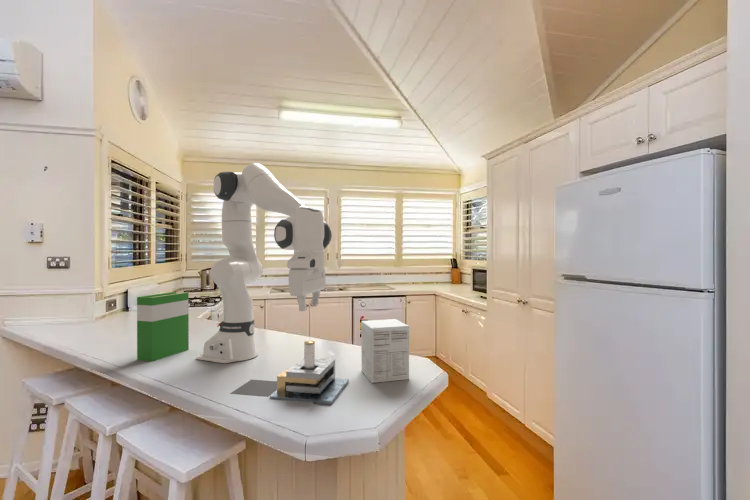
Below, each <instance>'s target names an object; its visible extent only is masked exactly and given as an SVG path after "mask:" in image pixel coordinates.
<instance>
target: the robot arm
mask: <svg viewBox="0 0 750 500" xmlns="http://www.w3.org/2000/svg"><path fill="white" fill-rule="evenodd" d="M212 187H213V192H214V193H213V194H214V195H215V197H217V199H219V200H222V208H221V240H222V243H223V245H224V246H225V247H226V248H227V251H228V255H229V257H225V258H222V259H219V260H217V261H216V262H214V263H213V265H211V268H210V277H211V280H212V282H213V283H214V284H215V285H216V286H217V287H218V290H219V292H220V295H221V300H222V309H223V310H222V314H223V315H222V316H223V318H222V321H221V322H219V323H216V325H217V326H216V327H217V328H218V327H219V328H218V331H217V332H215V333H214V334H213V335H212V336H211V337H209V338H207V340H206V341H205V342H204V346H203V350H202V352H201V353H199V354H197V355H196V360H200V361H206V362H207V361H208V362H214V363H221V364H229V363H233V362H241V361H246V360H250V359H253V358H257V356H258V354H259V353H258V352H257V348H256V342H255V336H254V334H255V319H254V300H253V298H252V297H251V296H250V294H249V292H248V288H247V284H248V285H249V284H252V283H254V282H256V281H258V280H260V278H261V277H262V275H263V273H264V267H263V265H262V263H261V261H260V260H259V259H258V256H257V253H256V249H255V246H254V241H253V228H252V226H253V225H252V211H251V210H252V206H253V205H255V206H257V207H258V208H259V209H261V210H264V211H268V212H273V213H278V214H282V215H286V216H288V217H287V218H285V219H281V220H280V221H279V222H277V224H276V225H275V227H274V232H273V235H274V237H273V238H274V241H275V243H276V244H277V246H278V247H279V248H280V249H283V250H286V251H287V250H288V251H293V255H292V256H291V258H289V260H287V262H286V265H287V266H286V267H287V269H289V271H288V291H289V294H290V296H291V297H296V301H297V303H298V310H299V312H305V311H307V310H308V309H307V307H308V304H307V303H306V298H307V295H311V294H312V299H311V301H310V302H311V303H310V304H311V306H312V307H317V306H319V299H320V295H321V291H322V290H325V289H326V285H327V283H326V282H327V281H326V269H325V249H326V248H327V247H328V246H329V245H330V242H331V241H332V236H333V235H332V231H331V228H330V226H329V224H328V223H327V222H326V221H325V219H324V215H323V211H322V209H320V208H318V207H313V206H307V205H305V203H304V202H303V201H302V200H301V199H299V197H297V196H296V195H294V194H293V193H292V192H290V191H289V190H288V189H286V188H285V186H283V185H282V184H281V183H280V182H279V181H278V179H276V177H275V176H274V174H273V173H272V172H271V171H270V170H269V169H268V168H266V166H264V165H262V164H260V163H256V162H255V163H250V164H248V165H246V166H245V167H244V168H243V170H242V171H241V172H236V171H222V172H218V173H217V174H216V175H215V176H214V179H213V186H212Z"/></svg>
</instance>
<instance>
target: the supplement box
mask: <svg viewBox="0 0 750 500" xmlns="http://www.w3.org/2000/svg"><path fill="white" fill-rule="evenodd" d="M360 322H361V325H360V327H361V328H360V329H361V333H360V334H361V340H360V341H361V346H360V349H361V350H360V351H361V372H362V373H363V374H364V376H365V377H366V378H367V379H368V381H369V382H370V383H371V384H374V383H386V382H395V381H405V380H409V379H410V325H408V324H406V323H404V322H402V321H400V320H398V319H397V318H391V319H372V320H361V321H360Z"/></svg>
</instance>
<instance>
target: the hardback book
mask: <svg viewBox="0 0 750 500" xmlns="http://www.w3.org/2000/svg"><path fill="white" fill-rule="evenodd" d="M189 313H190V312H189V292H181V293H177V291H172V292H165V293H164V292H163V293H157V294H150V295H142V296H137V297H136V360H137V361H144V362H156V361H157V360H161V359H164V358H167V357H170V356H174V355H176V354H180V353H182V352H183V353H184V352H187V351H189V345H190V344H189V343H190V342H189V339H190V338H189V330H190V329H189V327H190V326H189V325H190V324H189V323H190V320H189V315H190V314H189Z"/></svg>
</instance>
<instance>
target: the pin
mask: <svg viewBox="0 0 750 500" xmlns="http://www.w3.org/2000/svg"><path fill="white" fill-rule="evenodd" d="M315 343H316V342H315V340H306V341H304V345H303V347H304V351H303V352H304V354H303V355H304V356H303V359H304V370H315V358H316V357H315V356H316V352H315V350H316V349H315V347H316V344H315ZM305 384H306V383H305Z"/></svg>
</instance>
